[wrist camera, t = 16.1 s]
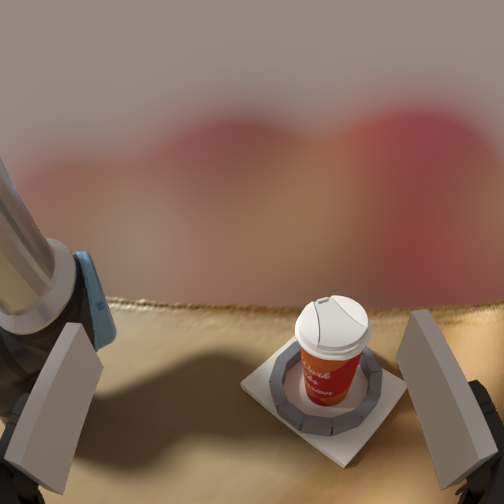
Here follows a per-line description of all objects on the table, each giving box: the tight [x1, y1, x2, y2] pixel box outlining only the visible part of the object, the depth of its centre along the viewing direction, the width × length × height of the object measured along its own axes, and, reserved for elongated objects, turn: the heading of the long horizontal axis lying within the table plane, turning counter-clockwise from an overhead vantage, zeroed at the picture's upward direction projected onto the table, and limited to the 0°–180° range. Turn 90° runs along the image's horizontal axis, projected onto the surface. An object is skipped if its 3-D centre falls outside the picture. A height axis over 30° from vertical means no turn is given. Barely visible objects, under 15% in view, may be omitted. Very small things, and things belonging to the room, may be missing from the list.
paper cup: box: [295, 296, 371, 407], centre depth 34 cm, size 8×8×14 cm
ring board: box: [240, 335, 407, 468], centre depth 38 cm, size 18×14×4 cm
